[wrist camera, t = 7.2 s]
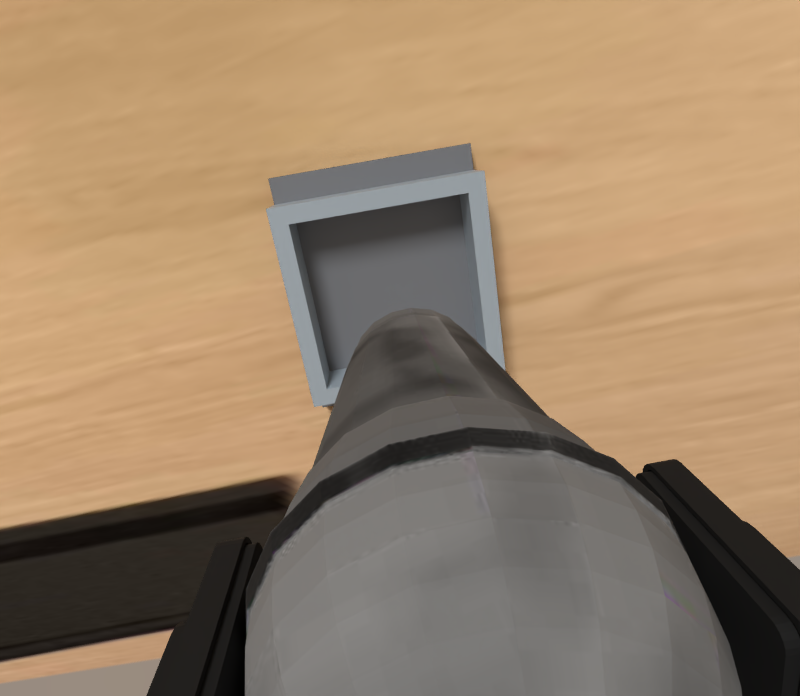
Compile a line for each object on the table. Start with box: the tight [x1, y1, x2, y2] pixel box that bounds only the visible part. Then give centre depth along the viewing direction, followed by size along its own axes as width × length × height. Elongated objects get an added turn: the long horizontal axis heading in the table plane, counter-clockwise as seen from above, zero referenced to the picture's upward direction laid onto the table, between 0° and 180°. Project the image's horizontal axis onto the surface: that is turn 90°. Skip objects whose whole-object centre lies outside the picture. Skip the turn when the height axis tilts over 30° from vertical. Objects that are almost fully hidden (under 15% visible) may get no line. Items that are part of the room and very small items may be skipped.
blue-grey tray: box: [266, 143, 505, 407], centre depth 33 cm, size 12×15×4 cm
